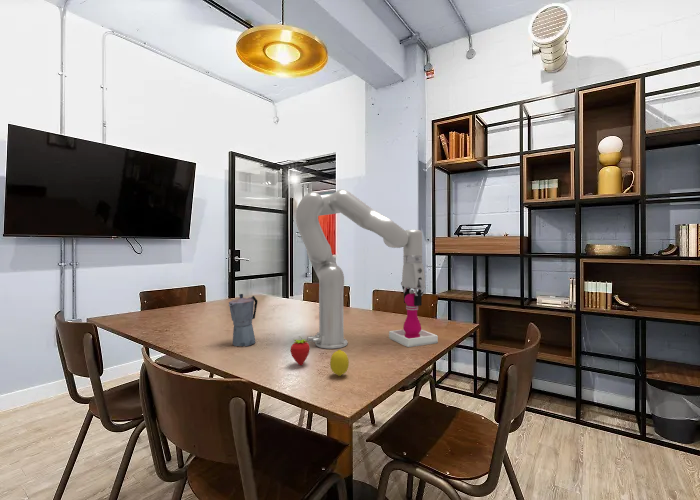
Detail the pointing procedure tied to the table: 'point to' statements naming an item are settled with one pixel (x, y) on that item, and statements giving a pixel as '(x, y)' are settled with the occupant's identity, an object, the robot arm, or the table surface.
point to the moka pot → (243, 320)
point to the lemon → (339, 362)
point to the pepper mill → (411, 318)
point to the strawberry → (300, 351)
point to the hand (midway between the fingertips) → (412, 303)
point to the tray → (422, 340)
